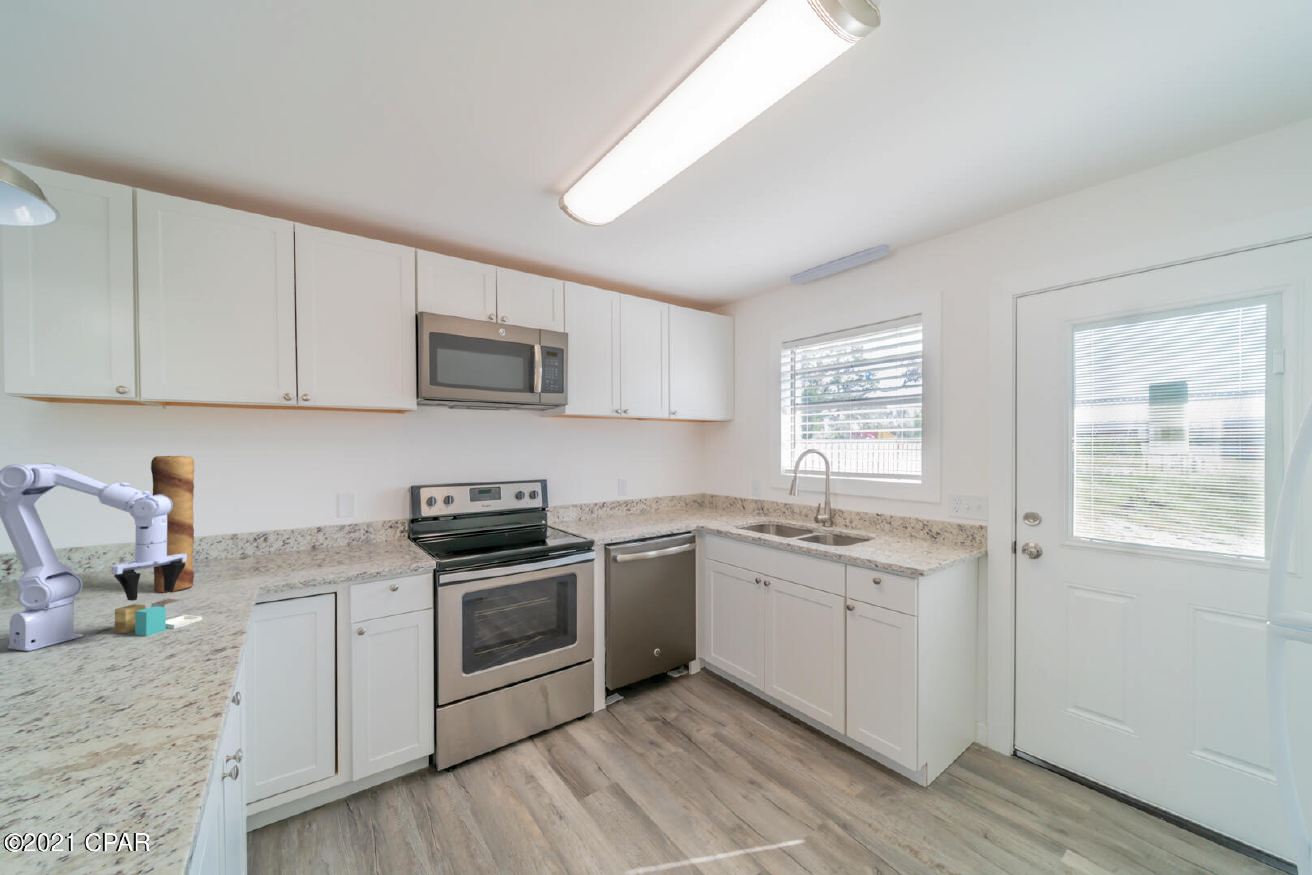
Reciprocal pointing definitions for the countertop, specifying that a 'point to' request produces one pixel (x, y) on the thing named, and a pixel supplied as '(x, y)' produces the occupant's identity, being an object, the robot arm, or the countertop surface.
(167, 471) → the brown striped cylinder
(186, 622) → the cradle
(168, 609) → the block
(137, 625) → the teal block
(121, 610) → the ochre block
